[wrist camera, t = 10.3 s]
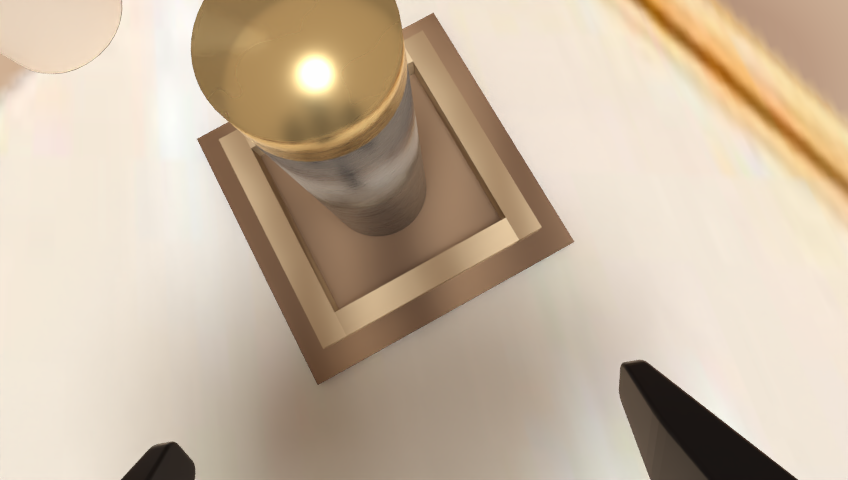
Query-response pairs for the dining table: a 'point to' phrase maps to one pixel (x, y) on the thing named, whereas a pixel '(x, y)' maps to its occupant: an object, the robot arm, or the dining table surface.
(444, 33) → the socket board
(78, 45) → the cylindrical container
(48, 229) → the dining table surface
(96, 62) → the dining table surface
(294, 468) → the dining table surface
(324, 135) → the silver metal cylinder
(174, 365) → the dining table surface
